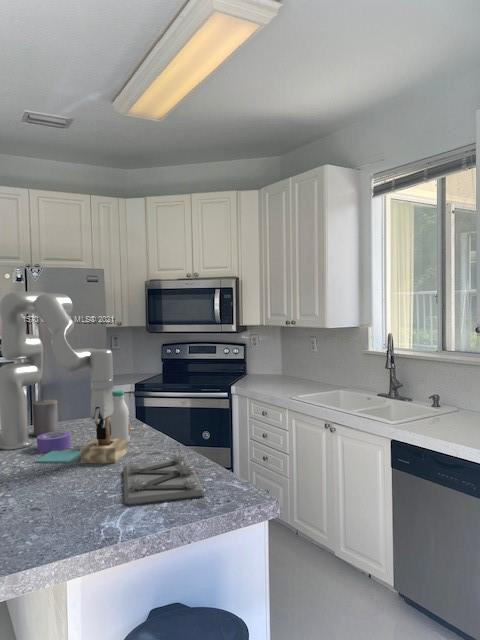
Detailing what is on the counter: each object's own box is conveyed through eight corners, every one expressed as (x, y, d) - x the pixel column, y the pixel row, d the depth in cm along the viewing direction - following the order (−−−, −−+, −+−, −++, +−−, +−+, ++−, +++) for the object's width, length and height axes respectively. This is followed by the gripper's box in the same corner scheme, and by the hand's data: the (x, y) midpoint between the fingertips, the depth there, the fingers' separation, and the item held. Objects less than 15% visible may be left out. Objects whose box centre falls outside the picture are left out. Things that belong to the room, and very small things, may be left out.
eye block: (81, 462, 169) (80, 448, 168) (94, 452, 180) (94, 438, 180) (115, 463, 167) (115, 448, 167) (126, 452, 179) (126, 438, 179)
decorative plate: (123, 472, 160) (122, 450, 159) (190, 465, 165) (189, 444, 165) (124, 508, 131) (124, 481, 130) (206, 499, 136) (205, 473, 135)
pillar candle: (35, 432, 212) (33, 397, 212) (59, 430, 215) (57, 395, 215) (32, 438, 203) (31, 401, 203) (58, 435, 206) (56, 399, 205)
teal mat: (35, 462, 170) (35, 461, 170) (51, 452, 182) (51, 450, 182) (69, 462, 169) (69, 461, 169) (83, 452, 181) (83, 450, 181)
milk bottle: (127, 445, 189) (125, 392, 188) (106, 445, 189) (105, 393, 189) (132, 439, 197) (130, 389, 196) (112, 440, 197) (110, 389, 196)
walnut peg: (96, 459, 172) (95, 419, 172) (101, 455, 176) (99, 416, 176) (108, 459, 172) (106, 419, 171) (112, 455, 176) (110, 416, 175)
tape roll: (30, 452, 183) (30, 438, 183) (48, 443, 195) (48, 430, 195) (60, 453, 181) (59, 439, 181) (76, 444, 193) (76, 431, 193)
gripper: (100, 381, 182) (102, 431, 182) (82, 389, 165) (83, 444, 166) (120, 381, 181) (122, 431, 182) (104, 389, 165) (105, 444, 165)
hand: (103, 436), depth 174 cm, fingers closed on walnut peg, 4 cm apart
